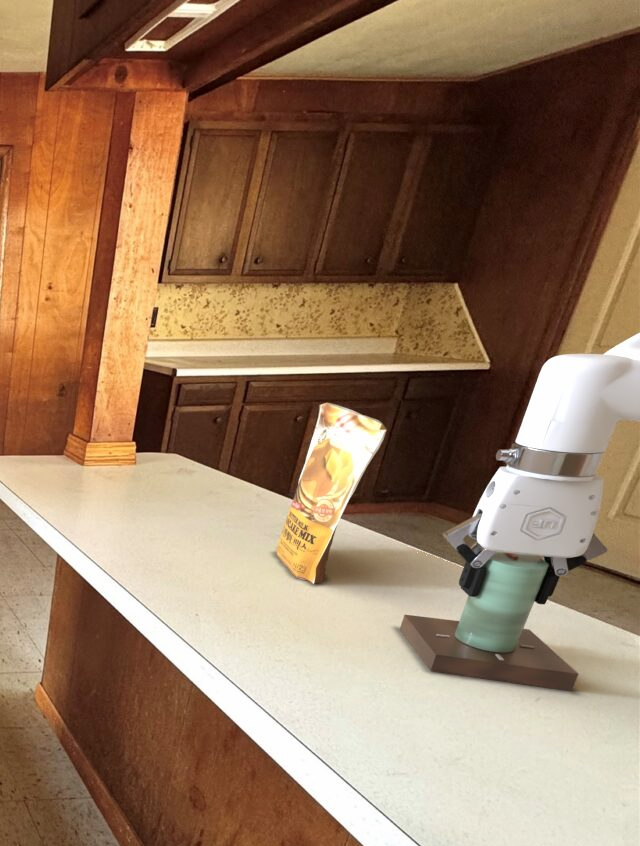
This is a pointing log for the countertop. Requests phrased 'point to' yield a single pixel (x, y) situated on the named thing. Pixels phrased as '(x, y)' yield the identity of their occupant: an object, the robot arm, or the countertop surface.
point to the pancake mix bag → (326, 487)
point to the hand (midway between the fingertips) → (501, 594)
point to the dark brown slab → (487, 656)
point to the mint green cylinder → (502, 602)
